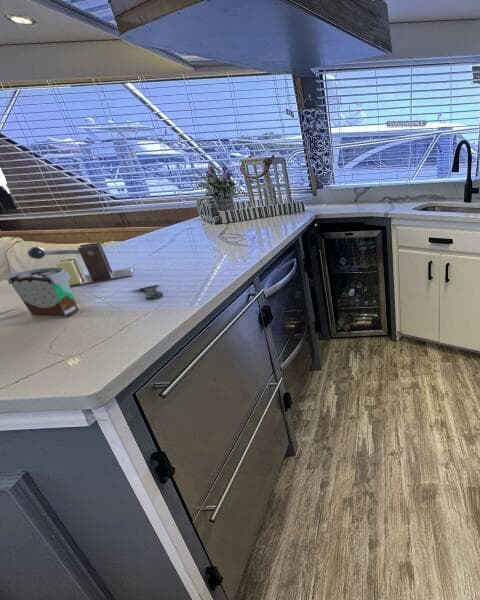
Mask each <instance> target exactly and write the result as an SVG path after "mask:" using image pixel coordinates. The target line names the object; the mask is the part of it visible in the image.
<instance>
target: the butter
mask: <svg viewBox="0 0 480 600" xmlns="http://www.w3.org/2000/svg"><path fill="white" fill-rule="evenodd" d="M55 265H56V268H63V270H64V271H66V272H67V273H68V274H69V276H70V279H68V283H69V285H74V284H80V283H81V282H82V279H84V277H85V276H86V275H85V273H84V271H83V269H82V267H81V265H80V263H79V260H78V258H77V256H70V257H63V258H60V260H59V261H58V262H57V263H56V264H55Z"/></svg>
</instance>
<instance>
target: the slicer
mask: <svg viewBox="0 0 480 600" xmlns="http://www.w3.org/2000/svg"><path fill="white" fill-rule="evenodd" d="M77 250H79V252H80V254H79V255H80V256H81V258H82V261H83V263H84V265H85V267H86V269H87V272H88V274H87V275H84V276H85V277H84V279H82V282H81V283H80V284H74V285H69V286H70V288H71V289H72V288H75V287H81V286H82V287H83V286H87V285H88V286H89V285H93V284H98V283H104V282H110V281H115V280H120V279H121V280H122V279H125V278H131V277H133V273H134V268H133V267H129V268H123V269H117V270H113V269H112V267H111V265H110V262H109V260H108V257H107V255H106V253H105V250H104V247H103V246H102V243H101V242H94V243H85V244H80V246H79V247H78V248H77Z"/></svg>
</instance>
